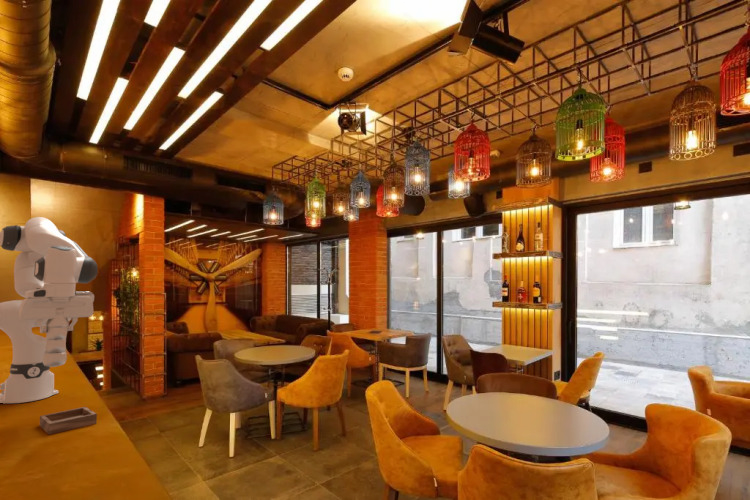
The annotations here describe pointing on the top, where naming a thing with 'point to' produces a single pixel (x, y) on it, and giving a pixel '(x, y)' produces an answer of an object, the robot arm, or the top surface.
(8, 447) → the top surface
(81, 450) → the top surface
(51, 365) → the silver metal bottle
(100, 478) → the top surface
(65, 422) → the walnut tray
